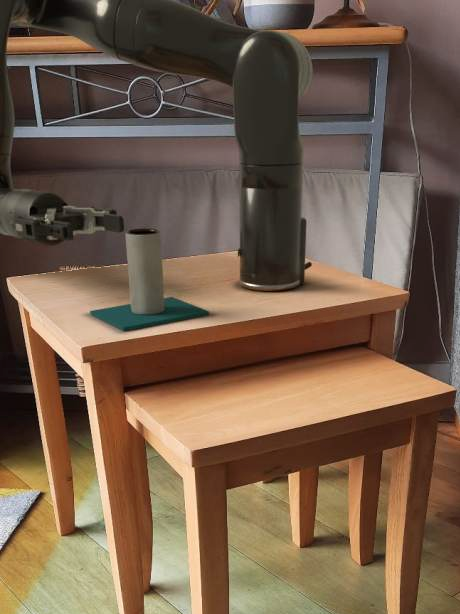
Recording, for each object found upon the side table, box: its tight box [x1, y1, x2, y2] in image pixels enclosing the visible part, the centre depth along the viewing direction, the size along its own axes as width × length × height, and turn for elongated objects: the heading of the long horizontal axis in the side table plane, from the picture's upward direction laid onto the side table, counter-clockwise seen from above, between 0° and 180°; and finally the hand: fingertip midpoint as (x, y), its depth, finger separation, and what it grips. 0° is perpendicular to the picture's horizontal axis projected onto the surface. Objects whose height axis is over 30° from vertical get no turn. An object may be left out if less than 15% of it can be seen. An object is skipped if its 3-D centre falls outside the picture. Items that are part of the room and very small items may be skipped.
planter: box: [124, 228, 165, 315], centre depth 99 cm, size 4×4×10 cm
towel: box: [89, 296, 210, 332], centre depth 102 cm, size 13×10×1 cm
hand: (96, 228), depth 103 cm, fingers open, 8 cm apart
